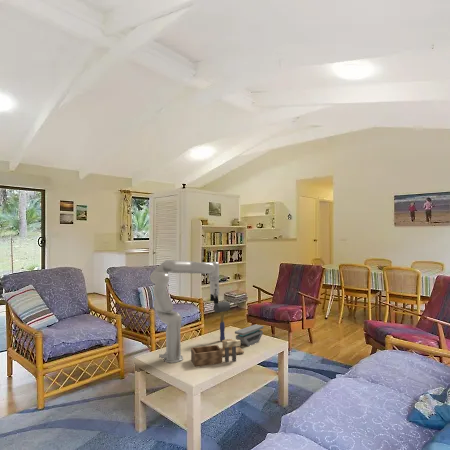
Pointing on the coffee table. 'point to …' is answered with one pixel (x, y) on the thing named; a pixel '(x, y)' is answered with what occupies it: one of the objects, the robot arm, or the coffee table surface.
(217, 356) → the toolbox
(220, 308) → the rubber mallet
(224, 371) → the coffee table surface
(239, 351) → the lid
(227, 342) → the pale wooden bar
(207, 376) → the coffee table surface
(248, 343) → the sharpening stone
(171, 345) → the robot arm
